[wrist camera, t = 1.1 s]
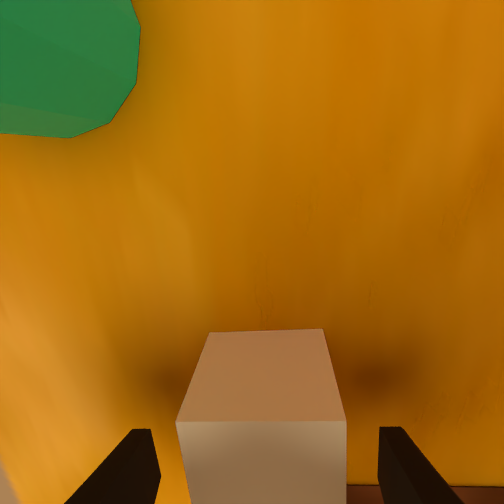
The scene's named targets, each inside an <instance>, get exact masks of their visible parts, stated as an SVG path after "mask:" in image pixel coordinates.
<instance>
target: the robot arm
mask: <svg viewBox="0 0 504 504" xmlns="http://www.w3.org/2000/svg"><path fill="white" fill-rule="evenodd" d="M160 479H161V472H160V468H159V464H158V459H157V455H156V451H155V447H154V442H153V438H152V434H151V429H132V430H131V431H130V432H129V433H128V434H127V435H126V437H125V438H124V439H123V440H122V441H121V442H120V443H119V444H118V445H117V446H116V448H115V449H114V450H113V451H112V452H111V453H110V454H109V455H108V457H107V458H106V459H105V460H104V461H103V462H102V463H101V464H100V465H99V467H98V468H97V469H96V470H95V471H94V472H93V473H92V474H91V475H90V476H89V477H88V479H87V480H86V481H85V482H84V483H83V484H82V485H81V486H80V487H79V488H78V489H77V490H76V491H75V493H74V494H73V495H72V496H71V497H70V498H69V499H68V500H67V501H66V502H65V503H64V504H154V503H155V499H156V496H157V492H158V487H159V483H160ZM378 481H379V485H380V489H381V493H382V497H383V501H384V504H465V503H464V502H463V501H462V500H461V499H460V497H459V496H458V495H457V494H456V493H455V492H454V491H453V489H452V488H451V487H450V486H449V485H448V484H447V482H446V481H445V480H444V479H443V478H442V477H441V475H440V474H439V473H438V472H437V471H436V469H435V468H434V467H433V466H432V464H431V463H430V462H429V461H428V460H427V458H426V457H425V456H424V455H423V453H422V452H421V451H420V450H419V448H418V447H417V446H416V445H415V443H414V442H413V441H412V439H411V438H410V437H409V435H408V434H407V433H406V432H405V430H404V429H403V428H402V427H380V429H379V453H378Z"/></svg>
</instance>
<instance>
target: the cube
mask: <svg viewBox="0 0 504 504" xmlns="http://www.w3.org/2000/svg"><path fill="white" fill-rule="evenodd" d="M175 423H176V428H177V433H178V438H179V443H180V448H181V453H182V458H183V463H184V468H185V473H186V478H187V483H188V488H189V493H190V498H191V503H192V504H346V427H347V421H346V417H345V413H344V409H343V405H342V402H341V398H340V394H339V390H338V386H337V382H336V378H335V374H334V370H333V367H332V363H331V359H330V355H329V351H328V347H327V343H326V339H325V335H324V332H323V329H298V330H269V331H240V332H210V333H209V335H208V338H207V340H206V343H205V345H204V348H203V351H202V353H201V356H200V358H199V361H198V364H197V366H196V369H195V372H194V374H193V377H192V379H191V382H190V385H189V387H188V390H187V393H186V395H185V398H184V400H183V403H182V406H181V408H180V411H179V414H178V416H177V419H176V421H175Z"/></svg>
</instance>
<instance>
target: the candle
mask: <svg viewBox="0 0 504 504" xmlns="http://www.w3.org/2000/svg"><path fill="white" fill-rule="evenodd" d="M140 28H141V27H140V25H139V22H138V19H137V16H136V14H135V11H134V8H133V6H132V3H131V0H0V133H4V134H18V135H32V136H46V137H60V138H72V137H75V136H77V135H80V134H82V133H85V132H87V131H90V130H92V129H95V128H97V127H100V126H102V125H105V124H107V123H110V122H111V120H112V119H113V117H114V116H115V114H116V113H117V111H118V110H119V108H120V107H121V105H122V104H123V102H124V101H125V99H126V98H127V96H128V95H129V93H130V92H131V90H132V89H133V87H134V86H135V84H136V78H137V65H138V53H139V40H140Z"/></svg>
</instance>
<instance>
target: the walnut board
mask: <svg viewBox="0 0 504 504" xmlns="http://www.w3.org/2000/svg"><path fill="white" fill-rule="evenodd" d="M451 488H452V489H453V491H454V492H455V493H456V494H457V495H458V496H459V497H460V499H461V500H462V501H463V502H464V503H465V504H504V488H497V487H451ZM346 504H384V501H383V497H382V493H381V489H380V486H352V485H346Z"/></svg>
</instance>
